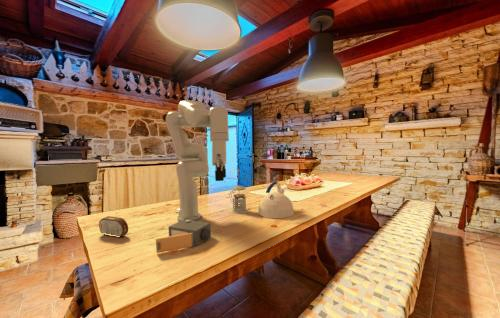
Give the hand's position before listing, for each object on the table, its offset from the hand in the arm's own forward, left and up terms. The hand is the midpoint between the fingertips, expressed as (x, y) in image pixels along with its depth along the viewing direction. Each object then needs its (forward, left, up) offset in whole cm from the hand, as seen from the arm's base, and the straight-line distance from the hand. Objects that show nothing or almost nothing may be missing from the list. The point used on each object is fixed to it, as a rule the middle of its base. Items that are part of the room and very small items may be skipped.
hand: (221, 179), depth 88 cm
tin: (-47, -16, -25) cm, 56 cm away
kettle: (+11, +39, -25) cm, 48 cm away
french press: (-11, +35, -25) cm, 45 cm away
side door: (-10, -17, -24) cm, 31 cm away
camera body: (-12, -6, -25) cm, 28 cm away
